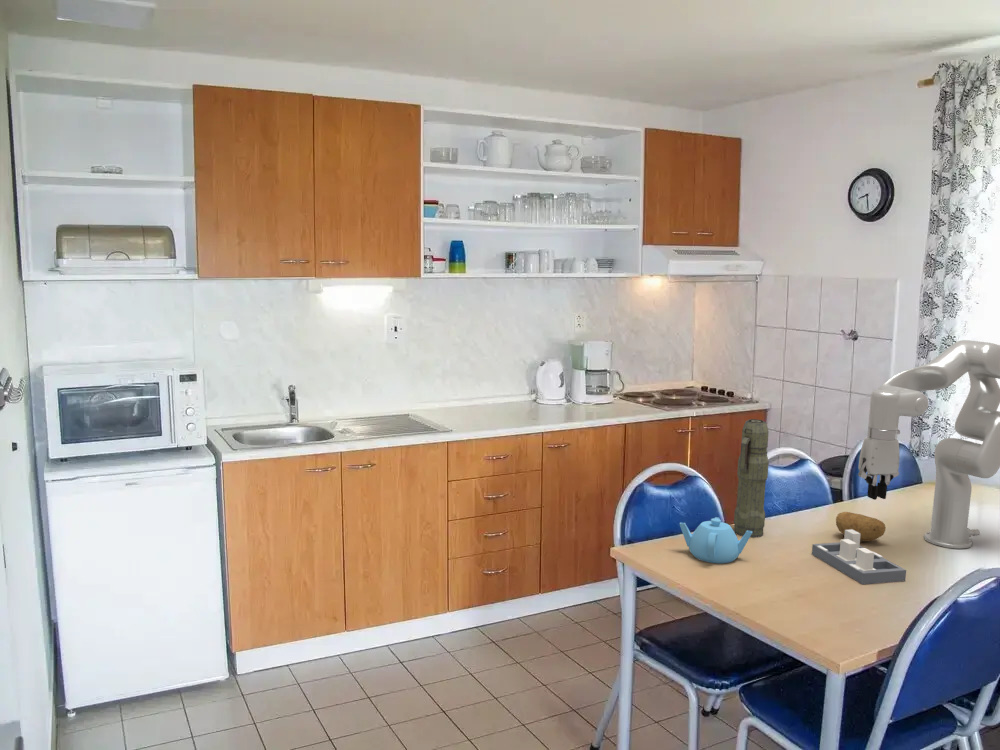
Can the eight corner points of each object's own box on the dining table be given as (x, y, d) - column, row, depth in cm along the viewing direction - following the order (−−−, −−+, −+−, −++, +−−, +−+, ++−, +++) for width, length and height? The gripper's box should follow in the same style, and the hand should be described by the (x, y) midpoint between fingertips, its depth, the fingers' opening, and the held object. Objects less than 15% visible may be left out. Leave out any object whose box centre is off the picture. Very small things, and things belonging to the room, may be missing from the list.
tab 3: (864, 570, 218) (866, 547, 217) (875, 576, 214) (877, 553, 213) (851, 571, 217) (853, 548, 217) (862, 577, 213) (864, 554, 212)
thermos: (726, 533, 248) (733, 421, 243) (743, 524, 257) (750, 416, 252) (753, 540, 243) (761, 425, 238) (770, 531, 251) (778, 420, 246)
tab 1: (851, 550, 233) (853, 528, 232) (862, 555, 229) (863, 533, 228) (839, 551, 232) (841, 529, 232) (849, 556, 228) (851, 534, 227)
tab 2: (848, 560, 225) (849, 538, 224) (858, 566, 221) (860, 543, 220) (835, 561, 224) (837, 539, 223) (845, 567, 220) (847, 544, 219)
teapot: (674, 550, 233) (676, 514, 232) (715, 543, 240) (718, 508, 238) (709, 569, 220) (711, 531, 218) (752, 561, 226) (755, 524, 225)
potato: (880, 550, 237) (882, 523, 236) (830, 539, 246) (832, 513, 244) (888, 541, 245) (890, 515, 244) (839, 531, 253) (841, 506, 252)
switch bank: (851, 551, 236) (852, 540, 235) (905, 580, 214) (906, 568, 214) (811, 554, 233) (812, 543, 232) (862, 584, 211) (863, 572, 211)
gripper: (897, 430, 233) (891, 492, 235) (848, 432, 229) (843, 495, 232) (916, 436, 226) (910, 500, 228) (866, 438, 222) (860, 503, 225)
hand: (876, 497), depth 230 cm, fingers closed
